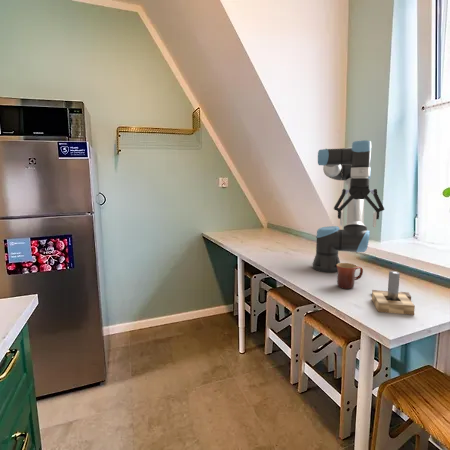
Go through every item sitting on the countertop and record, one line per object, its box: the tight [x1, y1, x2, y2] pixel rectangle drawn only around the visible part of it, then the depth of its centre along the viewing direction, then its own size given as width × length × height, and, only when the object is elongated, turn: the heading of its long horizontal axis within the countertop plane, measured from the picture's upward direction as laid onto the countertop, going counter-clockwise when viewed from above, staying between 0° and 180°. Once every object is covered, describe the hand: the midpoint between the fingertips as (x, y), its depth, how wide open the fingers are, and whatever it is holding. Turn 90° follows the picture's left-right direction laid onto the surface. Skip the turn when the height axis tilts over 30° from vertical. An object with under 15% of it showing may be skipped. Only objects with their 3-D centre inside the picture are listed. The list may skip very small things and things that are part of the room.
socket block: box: [371, 292, 416, 316], centre depth 120 cm, size 12×12×4 cm
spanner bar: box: [371, 289, 412, 302], centre depth 130 cm, size 14×5×2 cm, turn 71°
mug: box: [336, 262, 364, 290], centre depth 142 cm, size 12×9×10 cm
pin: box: [387, 270, 401, 301], centre depth 119 cm, size 4×4×14 cm
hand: (357, 226), depth 136 cm, fingers open, 13 cm apart
